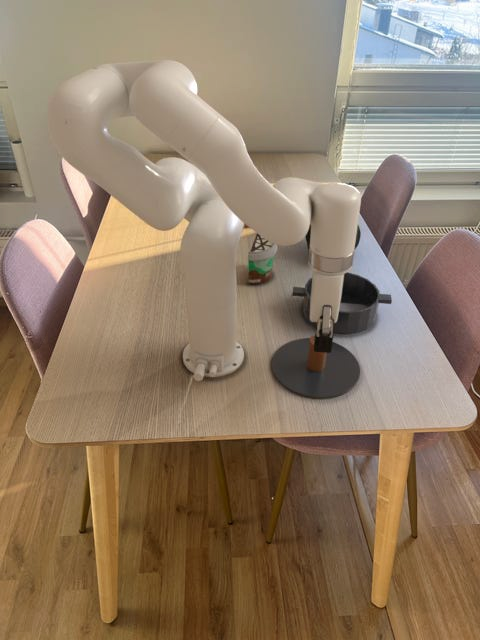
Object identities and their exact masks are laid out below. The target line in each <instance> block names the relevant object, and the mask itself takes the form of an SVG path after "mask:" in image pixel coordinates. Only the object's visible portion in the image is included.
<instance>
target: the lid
mask: <svg viewBox="0 0 480 640" xmlns="http://www.w3.org/2000/svg"><path fill="white" fill-rule="evenodd" d="M314 341H315V334H314V335H312V336H310V337H304V338H303V337H302V338H297V339H294V340H290V341H288V342H286V343H285V344H283V345H282V346H280V347H279V348H278V349H277V350H276V352H275V353H274V354H273V357H272V361H271V368H272V369H271V370H272V373H273V375H274V377H275V379H276V380H277V382H279V384H280V385H281V386H283V387H284V388H285V389H286V390H288V391H290V392H292V393H294V394H296V395H299V396H301V397H305V398H310V399H319V400H321V399H322V400H323V399H324V400H325V399H326V400H327V399H333V398H337V397H340V396H343V395H346V394H347V393H349V392H350V391H351V390H352V389H354V387H355V386H356V385H357V384H358V382H359V379H360V375H361V366H360V364H359V361H358V360H357V358H356V356H355V355H354V354H353V353H352V352H351V351H350V350H349V349H348V348H346V347H345V346H343V345H341V344H339V343H337V342H334V341H333V342H332V350H331V352H330V353H324V352H315V351H314Z"/></svg>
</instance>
